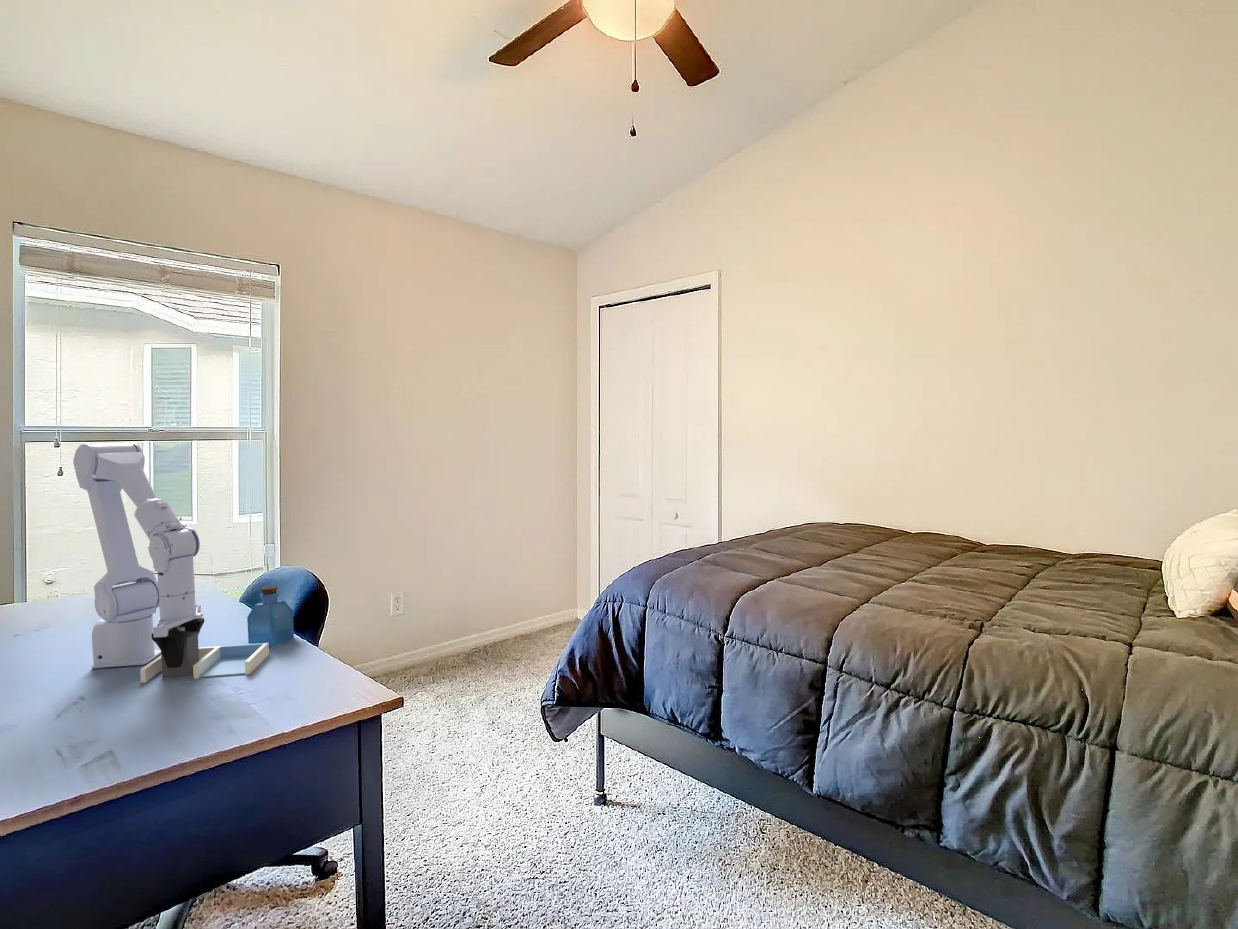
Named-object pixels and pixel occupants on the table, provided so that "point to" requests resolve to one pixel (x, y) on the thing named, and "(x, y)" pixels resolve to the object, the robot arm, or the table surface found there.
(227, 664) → the two-rail blue tray
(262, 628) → the perfume bottle
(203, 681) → the table surface
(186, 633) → the robot arm
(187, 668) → the plug
